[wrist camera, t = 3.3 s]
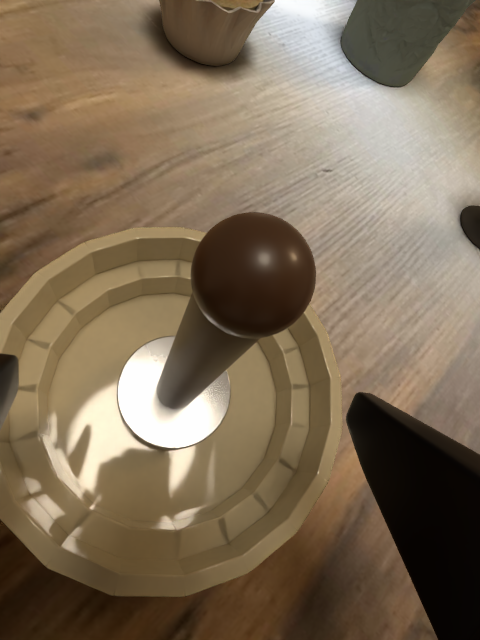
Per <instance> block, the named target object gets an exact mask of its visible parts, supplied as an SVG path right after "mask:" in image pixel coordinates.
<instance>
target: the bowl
mask: <svg viewBox="0 0 480 640" xmlns="http://www.w3.org/2000/svg"><path fill="white" fill-rule="evenodd" d="M206 234H207V233H204V232H200V231H196V230H192V229H188V228H183V227H138V228H132V229H128V230H124V231H121V232H117V233H114V234H110V235H107V236H103V237H100V238H96V239H93V240H89V241H86V242H84V243H81V244H80V245H78V246H76V247H75V248H73V249H72V250H70V251H68V252H67V253H65V254H64V255H62V256H60V257H59V258H57V259H56V260H54V261H52V262H51V263H49V264H48V265H46V266H44V267H43V268H41V269H40V270H38V271H37V272H35V273H34V274H33V276H32V277H31V278H30V279H29V280H28V281H27V283H26V284H25V285H24V286H23V287H22V288H21V289H20V291H19V292H18V293H17V294H16V295H15V296H14V298H13V299H12V300H11V301H10V302H9V303H8V305H7V306H6V307H5V308H4V309H3V310H2V312H1V313H0V353H2V354H11V355H16V356H17V357H18V361H19V385H18V391H17V395H16V397H15V399H14V401H13V404H12V406H11V408H10V410H9V412H8V415H7V417H6V419H5V421H4V424H3V426H2V428H1V430H0V520H1V521H2V522H3V523H4V524H5V525H6V526H7V527H8V528H9V529H10V530H11V532H12V533H13V534H14V535H15V536H16V537H17V538H18V539H19V540H20V541H21V542H22V543H23V544H24V545H25V546H26V547H27V548H28V549H29V550H30V552H31V553H32V554H33V555H34V556H35V557H36V558H37V559H38V560H39V561H40V562H41V563H42V564H43V565H44V566H46V568H48V569H50V570H52V571H55V572H57V573H59V574H62V575H64V576H66V577H69V578H71V579H73V580H76V581H78V582H80V583H83V584H85V585H87V586H90V587H92V588H94V589H97V590H99V591H101V592H104V593H106V594H108V595H111V596H113V595H114V596H133V597H184V596H185V597H186V596H189V595H192V594H194V593H197V592H200V591H202V590H205V589H208V588H211V587H213V586H216V585H219V584H221V583H224V582H227V581H229V580H232V579H235V578H237V577H240V576H243V575H245V574H247V573H249V572H251V571H252V570H253V569H254V568H255V567H257V566H258V565H259V564H260V563H261V562H263V561H264V560H265V559H266V558H267V557H269V556H270V555H271V554H272V553H273V552H275V551H276V550H277V549H278V548H279V547H280V546H282V545H283V544H284V543H285V542H286V541H288V540H289V539H290V538H291V537H292V536H294V535H295V534H296V533H297V531H298V530H299V529H300V527H301V526H302V524H303V522H304V521H305V519H306V518H307V516H308V514H309V513H310V511H311V509H312V508H313V506H314V505H315V503H316V501H317V500H318V498H319V497H320V495H321V493H322V492H323V490H324V488H325V487H326V485H327V484H328V481H329V479H330V475H331V471H332V467H333V463H334V460H335V456H336V452H337V448H338V444H339V441H340V437H341V433H342V393H341V379H340V378H341V376H340V373H339V369H338V366H337V363H336V360H335V356H334V353H333V350H332V346H331V343H330V340H329V336H328V333H326V332H327V331H326V329H325V328H324V326H323V325H322V323H321V321H320V320H319V318H318V317H317V315H316V313H315V312H314V310H313V308H312V307H311V305H310V304H309V305H308V307H307V308H306V310H305V312H304V313H303V314H302V316H301V317H300V318H299V319H298V320H297V321H296V322H295V323H294V324H293V325H291V326H290V327H288V328H287V329H285V330H284V331H282V332H280V333H278V334H275V335H272V336H269V337H264V338H260V339H259V340H258V341H257V342H256V343H255V344H254V345H253V346H252V347H251V348H250V349H249V350H247V351H246V352H245V353H244V354H243V355H242V356H241V357H240V358H239V359H238V360H237V361H235V362H234V363H233V364H232V365H231V366H230V367H229V368H228V369H227V372H228V375H229V379H230V385H231V398H230V404H229V408H228V411H227V413H226V416H225V418H224V420H223V421H222V423H221V424H220V426H219V427H218V428H217V430H216V431H215V432H214V433H213V434H212V435H210V436H209V437H208V438H206V439H205V440H203V441H202V442H200V443H198V444H196V445H193V446H191V447H187V448H183V449H177V450H161V449H156V448H153V447H150V446H148V445H146V444H144V443H142V442H141V441H139V440H138V439H136V438H135V437H134V436H133V435H132V434H131V433H130V432H129V430H128V429H127V428H126V426H125V424H124V423H123V421H122V418H121V416H120V412H119V408H118V403H117V384H118V379H119V376H120V373H121V371H122V368H123V366H124V365H125V363H126V361H127V360H128V359H129V357H130V356H131V355H132V354H133V353H134V352H135V351H136V350H137V349H138V348H140V347H141V346H142V345H144V344H146V343H148V342H149V341H152V340H154V339H157V338H160V337H165V336H176V334H177V331H178V328H179V326H180V323H181V321H182V318H183V315H184V313H185V310H186V307H187V305H188V302H189V300H190V297H191V294H192V292H193V291H192V287H191V276H190V275H191V265H192V260H193V256H194V254H195V251H196V249H197V247H198V245H199V243H200V241H201V240H202V239H203V237H204V236H205V235H206Z"/></svg>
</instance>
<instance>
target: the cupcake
mask: <svg viewBox="0 0 480 640" xmlns="http://www.w3.org/2000/svg"><path fill="white" fill-rule="evenodd" d="M159 1H160V7H161V14H162V23H163V29H164V32H165V35H166V37H167V40H168V41H169V42H170V44H171V45H172V46H173V47H174V48H175V49H176V50H177V51H178V52H179V53H181V54H182V55H184V56H186V57H187V58H189V59H191V60H193V61H196V62H198V63H201V64H206V65H213V66H220V65H225V64H228V63H230V62H232V61H233V60H234V59H235V58H236V57H237V56H238V55H239V53H240V51H241V49H242V47H243V45H244V43H245V41H246V40H247V38H248V36H249V34H250V33H251V31H252V29H253V28H254V26H255V24H256V23H257V21H258V20H259V19H260V18H261V17H262V16H263V14H264V13H265V12H266V11H267V10H268V9H269V8H270V7H271V5H272V4H273V3H274V2H275V1H274V0H159Z"/></svg>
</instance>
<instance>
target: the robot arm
mask: <svg viewBox="0 0 480 640" xmlns="http://www.w3.org/2000/svg"><path fill="white" fill-rule="evenodd" d="M18 385H19V361H18V357H17V356H16V355H11V354H2V353H0V430H1V428H2V426H3V424H4V421H5V419H6V417H7V415H8V412H9V410H10V408H11V406H12V404H13V401H14V399H15V397H16V395H17V391H18ZM346 422H347V426H348V429H349V432H350V435H351V437H352V440H353V443H354V446H355V449H356V452H357V455H358V458H359V461H360V464H361V467H362V470H363V472H364V474H365V477H366V479H367V481H368V483H369V486H370V488H371V490H372V492H373V495H374V497H375V499H376V501H377V504H378V506H379V508H380V510H381V513H382V515H383V517H384V519H385V522H386V524H387V526H388V528H389V531H390V533H391V535H392V537H393V539H394V542H395V544H396V546H397V548H398V551H399V553H400V555H401V557H402V560H403V562H404V564H405V566H406V569H407V571H408V573H409V575H410V578H411V580H412V582H413V584H414V587H415V589H416V591H417V593H418V595H419V598H420V600H421V602H422V604H423V607H424V609H425V611H426V613H427V616H428V618H429V620H430V622H431V625H432V627H433V629H434V631H435V634H436V636H437V638H438V640H480V454H478V453H476V452H474V451H473V450H471V449H469V448H467V447H465V446H464V445H462V444H460V443H458V442H456V441H455V440H453V439H451V438H449V437H448V436H446V435H444V434H442V433H440V432H439V431H437V430H435V429H433V428H432V427H430V426H428V425H426V424H424V423H423V422H421V421H419V420H417V419H416V418H414V417H412V416H410V415H408V414H407V413H405V412H403V411H401V410H400V409H398V408H396V407H394V406H392V405H391V404H389V403H387V402H385V401H384V400H382V399H380V398H378V397H376V396H375V395H373V394H370V393H363V392H359V393H357V394H356V395H355V396H354V398H353V401H352V403H351V405H350V408H349V410H348V413H347V416H346Z"/></svg>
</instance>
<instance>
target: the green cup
mask: <svg viewBox="0 0 480 640" xmlns="http://www.w3.org/2000/svg"><path fill="white" fill-rule="evenodd" d="M474 1H475V0H357V2H356V4H355V6H354V9H353V11H352V13H351V15H350V17H349V19H348V22H347V24H346V26H345V29H344V31H343V34H342V38H341V46H342V48H343V51H344V53H345V54H346V56H347V58H348V59H349V60H350V61H351V62H352V64H353V65H354V66H355V67H356V68H357V69H359V70H360V71H361V72H362V73H364V74H365V75H366V76H368V77H370V78H371V79H373V80H374V81H377V82H379V83H381V84H384V85H388V86H394V87H399V86H403V85H406V84H407V83H408V82H410V81H411V80H412V79H413V77H414V76H415V75H416V74H417V73H418V71H419V70H420V69H421V68H422V66H423V65H424V64H425V63H426V62H427V60H428V59H429V58H430V57H431V55H432V54H433V53H434V51H435V49H436V48H437V46H438V44H439V43H440V42H441V41H442V40H443V38H444V37H445V36H446V35H447V34H448V33H449V31H450V30H451V29H452V28H453V27H454V26H455V24H456V23H457V21H458V20H459V19H460V17H461V16H462V15H463V13H464V12H465V10H466V8H467V7H468V6H469V5H471V4H472V3H473V2H474Z"/></svg>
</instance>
